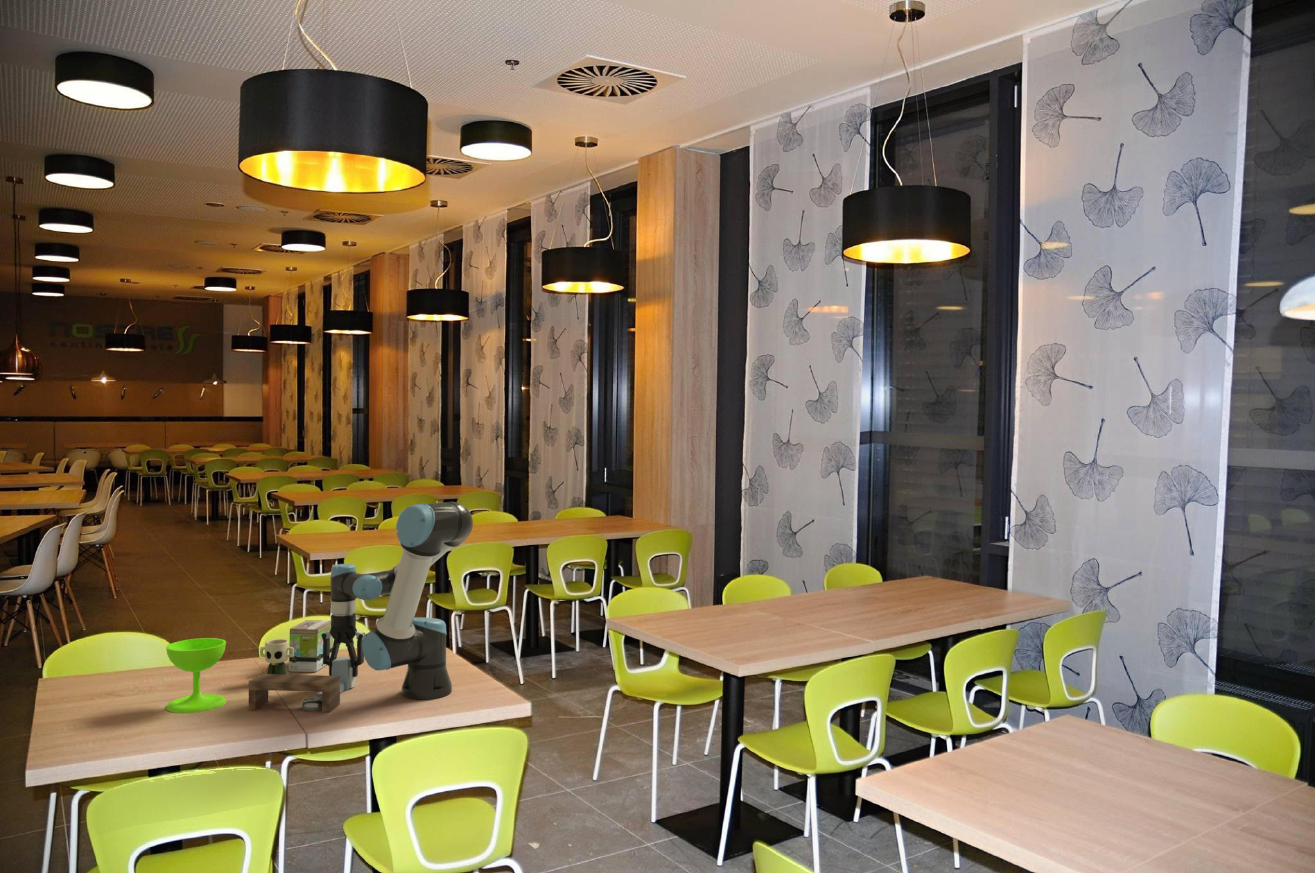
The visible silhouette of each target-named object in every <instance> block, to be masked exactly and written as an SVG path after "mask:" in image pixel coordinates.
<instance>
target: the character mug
mask: <svg viewBox="0 0 1315 873" xmlns="http://www.w3.org/2000/svg"><path fill="white" fill-rule="evenodd" d="M289 641H290V640H288V639H283V638H279V639H278V638H277V639H271V640H267V641H265V643H264V646H260V648H259V656H260V657H261V658H264V659H265V662H267V663H269V664H268V665H267V670H266V671H267V673H266V674H283V675H288V672H287V665H286V662H287V661H289V657H293V656H294V648H293V647H289ZM289 650H291V654H289Z"/></svg>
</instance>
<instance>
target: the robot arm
mask: <svg viewBox="0 0 1315 873" xmlns="http://www.w3.org/2000/svg"><path fill="white" fill-rule="evenodd" d="M473 526H474V519H473V517H472V513H471V512H470V510H469V509H468V508H467V507H466V506H465V505H464V504H462V503H459V502H457V501H456V502H455V501H446V502H437V503H436V502H435V503H418V504H413V505H410V506H407V507H406V508H404V509H403V510H402V511H401V513H400V514H399V516H398V518H397V520H396V527H395V530H396V531H397V532H396V537H397V539H398V541H399V545H400V547H401V549H402V554H401V556H400V562H398V563H397V564H396V565H395V566H394V567H392V569H390V570H381V571H377V572H376V571H375V572H369V573H358V572H357V567H356V566H355V565H354V564H352V563H339V564H335V565H333V566H332V567H331V570H330V571H331V572H330V577H329V578H330V613H331V615H330V621H331V629H330V631H329V632H325V633H323V634H322V635H321V636H322V639H323V664H324V665H325V664H326V665H325V666H328V676H332V661H333V660H335V659H337V658H338V654H339V650H340V646H341V644H345V647H346V648H347V652H348V657H350V661H351V665H352V666H351V667H350V668H349V688H350V689H352V688H354V687H355V686H356V677H358V675H359V674H358V673H359V666H361V665H362V664H364V663H365V661H366V664H367V665H368V666H369V667H370V668H371V669H373V670H374V671H388V670H390V669H394V668H398V667H401V666H406V665H407V670H406V673H405V676H404V680H403V683H402V686H401V696H402V697H404V698H406V699H407V698H408V699H410V700H411V699H412V700H413V699H414V700H431V699H437V698H443V697H445V696H448V695H450V694H451V693H453V692H452V691H453V689H452V687H453V686H452V681H451V679H450V678H451V677H450V675H449V672H448V669H447V634H448V633H447V624H446V622H445V621H444V620H442V619H440V618H434V617H424V616H423V617H418V616H417V617H415V616H416V613H417V610H418V606H419V603H420V600H421V596H422V593H423V590H424V587H425V584H426V580H427V578H428V575H429V571H430V568H431V567H432V565H434V564H435V563H436V562H437V561H438V560H439V559H441V557H443V556H445V554H446V553H447V552H448V551H450V550H451V549H452V548H457V547H459V546H460V545H461V544H462V543H463V542H465V541H466V540H467V539H468V537H469V536H471V533H472V531H473ZM387 595H389V598H388V601H387V606H386V608H385V610H384V611H385V612H384V613H383V614H384V615H383V617H380V618H378V620H377V621H376V623H375V627H374V629H373V631H369V632H367V633H365V632H360V631H358V629H357V625H356V624H357V614H356V613H355V612H356V611H357V607H356V606H357V604H356V603H357V601H356V600H357V599H359V600H361V601H373V600H375V599H377V598H378V597H381V596H383V597H384V596H387ZM331 636H332V637H333V648H332V652H331V656H330V637H331ZM355 637H356V649H355V644H354V643H355V641H354V638H355Z"/></svg>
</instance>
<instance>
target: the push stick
mask: <svg viewBox="0 0 1315 873" xmlns="http://www.w3.org/2000/svg"><path fill="white" fill-rule="evenodd" d="M351 666H352V665H351V661H350V657H349V656H348V657H347V656H346V657H342V656H339V657H338V656H337V658H336V659H335V660H333V661H332V676H340V694H341V693H343V692H344V691H348V690H350V689H351V688H349V668H350V667H351ZM316 697H322V692H316Z"/></svg>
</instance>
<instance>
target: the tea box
mask: <svg viewBox="0 0 1315 873" xmlns="http://www.w3.org/2000/svg"><path fill="white" fill-rule="evenodd" d="M330 629H331V620H319V619H311V620H309V619H307V620H305V621H302V622H300V623H299V624H296V625H294V626H293V627H290V628H289V640H288V641H289V647H293V648H294V656H293V657H289V658H288V672H290V673H291V672H292V673H293V672H294V673H317V672H318V671H319V670H321V669H322V668H324V667H325V666H327V665H326V664H325V665H324V664H323V639H322V636H321V635H322V634H323V633H325V632H329V631H330ZM333 642H334V639H333V637H332V636H331V637H330V656H331V652H332V648H333ZM289 654H291V650H289Z"/></svg>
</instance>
